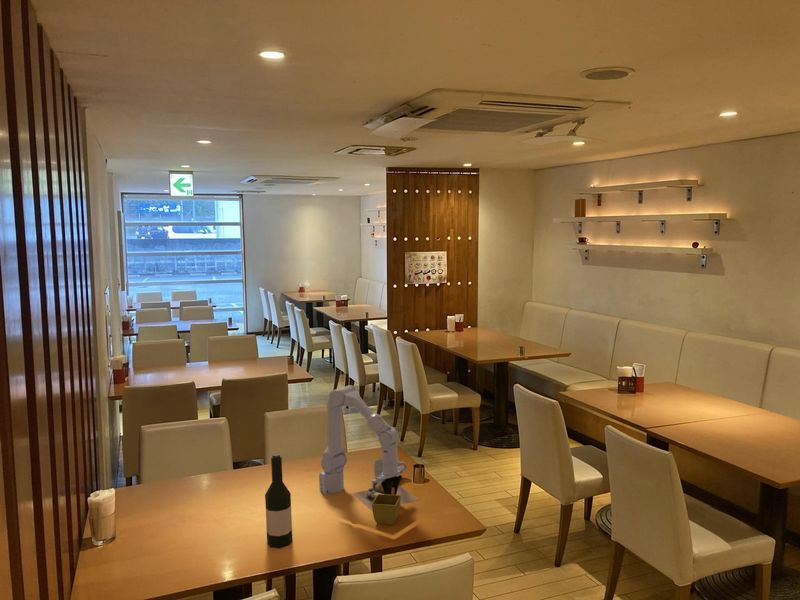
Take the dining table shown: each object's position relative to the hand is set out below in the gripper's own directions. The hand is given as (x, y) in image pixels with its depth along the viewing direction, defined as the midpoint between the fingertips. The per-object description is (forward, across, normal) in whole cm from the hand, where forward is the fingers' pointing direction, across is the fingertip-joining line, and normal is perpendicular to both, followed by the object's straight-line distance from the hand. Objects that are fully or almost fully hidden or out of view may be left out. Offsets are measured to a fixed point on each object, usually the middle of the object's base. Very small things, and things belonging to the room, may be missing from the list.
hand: (391, 495), depth 229 cm
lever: (+2, 0, +5) cm, 6 cm away
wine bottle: (+4, -44, +13) cm, 46 cm away
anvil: (+3, +7, +12) cm, 15 cm away
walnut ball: (+3, +6, +10) cm, 12 cm away
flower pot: (+4, -13, -8) cm, 16 cm away
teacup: (+4, +21, +17) cm, 27 cm away
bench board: (+4, +4, +6) cm, 8 cm away
